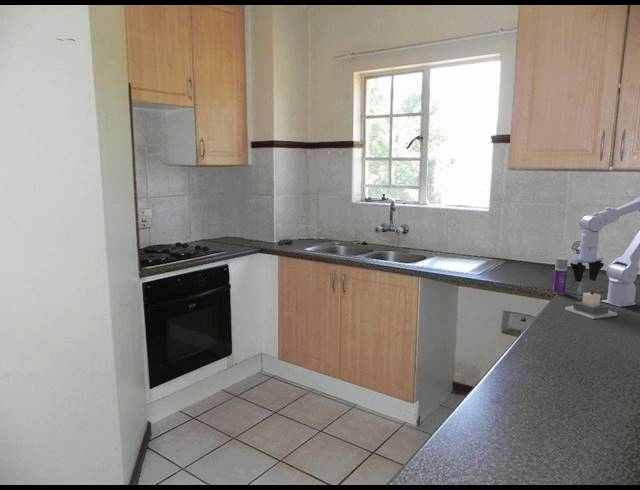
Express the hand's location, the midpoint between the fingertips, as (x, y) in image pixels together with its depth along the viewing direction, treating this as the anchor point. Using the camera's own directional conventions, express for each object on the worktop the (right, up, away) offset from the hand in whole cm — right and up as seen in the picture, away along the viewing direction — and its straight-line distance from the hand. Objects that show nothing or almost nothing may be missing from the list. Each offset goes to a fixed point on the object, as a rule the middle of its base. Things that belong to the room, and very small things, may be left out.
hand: (585, 280), depth 184 cm
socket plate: (-3, -11, -9) cm, 15 cm away
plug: (-3, -10, -9) cm, 14 cm away
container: (-1, -7, +18) cm, 19 cm away
